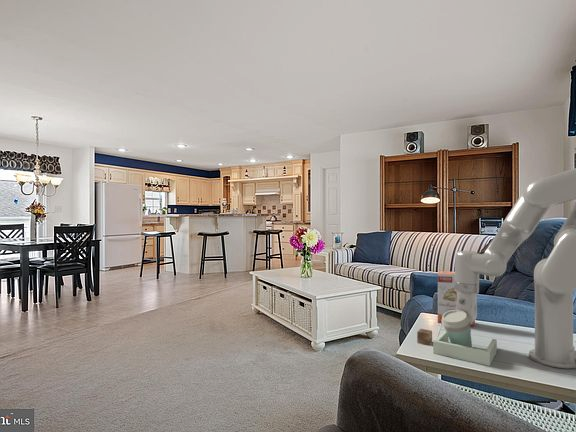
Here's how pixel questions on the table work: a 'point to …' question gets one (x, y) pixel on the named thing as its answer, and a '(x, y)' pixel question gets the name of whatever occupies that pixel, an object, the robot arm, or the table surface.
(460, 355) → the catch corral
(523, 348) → the table surface
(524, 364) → the table surface
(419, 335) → the walnut block
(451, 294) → the cracker box
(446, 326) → the coffee cup
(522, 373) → the table surface
